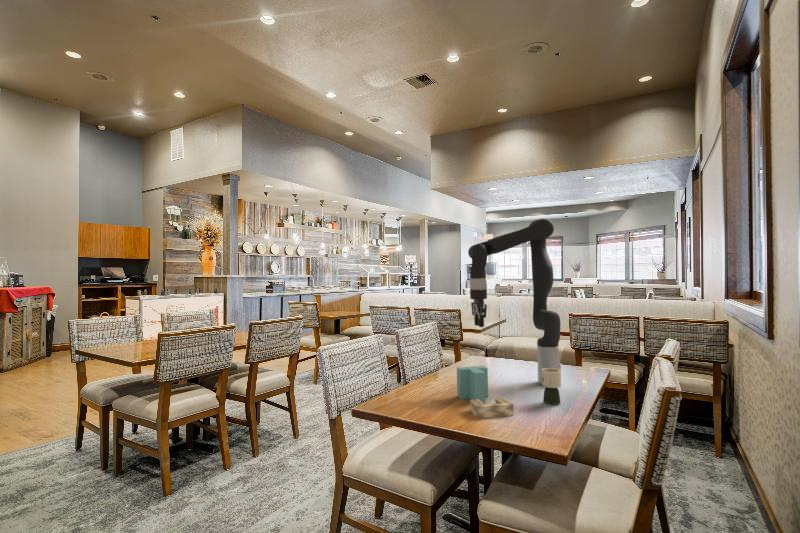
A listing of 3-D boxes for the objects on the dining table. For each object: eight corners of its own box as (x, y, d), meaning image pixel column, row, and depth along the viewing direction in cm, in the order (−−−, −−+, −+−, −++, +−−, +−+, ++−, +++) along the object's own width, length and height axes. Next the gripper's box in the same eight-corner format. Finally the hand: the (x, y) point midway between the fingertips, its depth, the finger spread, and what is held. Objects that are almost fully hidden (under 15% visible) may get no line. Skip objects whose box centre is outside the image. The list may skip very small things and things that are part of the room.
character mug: (546, 398, 172) (545, 366, 172) (564, 400, 168) (564, 368, 168) (538, 405, 163) (537, 371, 163) (557, 408, 159) (556, 373, 159)
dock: (504, 407, 161) (503, 397, 161) (513, 415, 153) (513, 404, 153) (470, 410, 159) (469, 399, 159) (477, 418, 151) (477, 406, 151)
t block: (484, 394, 179) (483, 365, 179) (494, 402, 168) (493, 371, 169) (457, 396, 177) (456, 367, 177) (465, 404, 166) (464, 373, 167)
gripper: (465, 288, 198) (466, 324, 197) (475, 289, 183) (476, 328, 183) (480, 287, 199) (481, 323, 199) (492, 288, 185) (493, 327, 185)
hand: (479, 326), depth 191 cm, fingers open, 5 cm apart
